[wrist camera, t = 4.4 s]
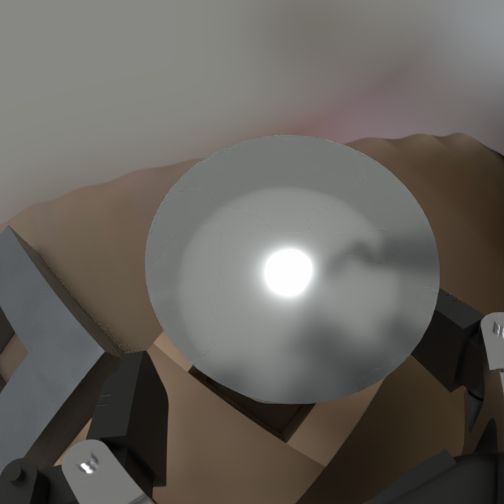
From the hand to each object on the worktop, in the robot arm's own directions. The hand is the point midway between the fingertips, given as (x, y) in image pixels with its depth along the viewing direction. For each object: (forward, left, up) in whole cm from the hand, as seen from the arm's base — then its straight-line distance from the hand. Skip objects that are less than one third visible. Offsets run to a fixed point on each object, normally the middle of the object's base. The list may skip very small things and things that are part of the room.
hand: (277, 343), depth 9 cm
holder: (+12, -14, -10) cm, 21 cm away
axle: (0, 0, -10) cm, 10 cm away
